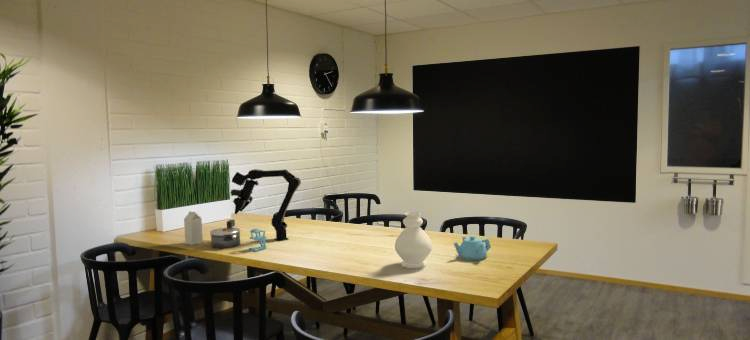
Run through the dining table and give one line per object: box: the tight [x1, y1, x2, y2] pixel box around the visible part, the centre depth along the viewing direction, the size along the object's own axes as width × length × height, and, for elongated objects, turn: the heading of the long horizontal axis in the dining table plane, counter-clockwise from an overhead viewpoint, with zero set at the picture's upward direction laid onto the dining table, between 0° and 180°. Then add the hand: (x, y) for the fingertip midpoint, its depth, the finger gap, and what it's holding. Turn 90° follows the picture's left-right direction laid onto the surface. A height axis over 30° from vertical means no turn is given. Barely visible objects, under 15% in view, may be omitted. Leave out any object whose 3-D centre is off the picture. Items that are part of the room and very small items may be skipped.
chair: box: [248, 228, 267, 253], centre depth 293 cm, size 8×8×12 cm
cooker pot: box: [210, 232, 241, 250], centre depth 308 cm, size 26×16×7 cm, turn 24°
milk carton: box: [183, 211, 204, 246], centre depth 313 cm, size 7×7×19 cm
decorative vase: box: [394, 211, 433, 269], centre depth 253 cm, size 18×18×25 cm
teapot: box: [453, 235, 491, 261], centre depth 264 cm, size 15×15×11 cm
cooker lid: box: [209, 219, 241, 236], centre depth 309 cm, size 23×17×5 cm
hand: (238, 212), depth 319 cm, fingers open, 9 cm apart
